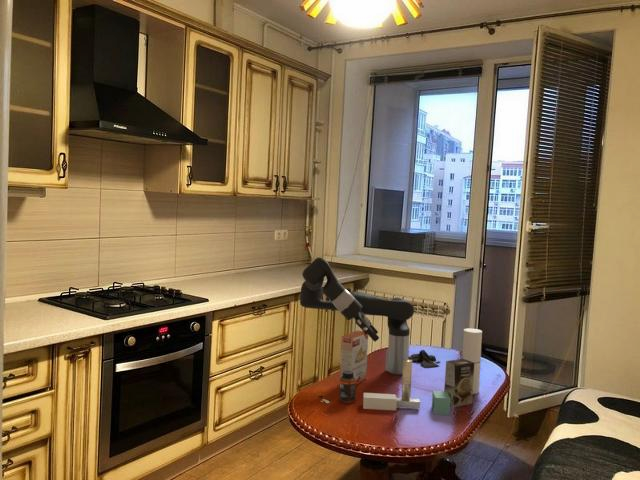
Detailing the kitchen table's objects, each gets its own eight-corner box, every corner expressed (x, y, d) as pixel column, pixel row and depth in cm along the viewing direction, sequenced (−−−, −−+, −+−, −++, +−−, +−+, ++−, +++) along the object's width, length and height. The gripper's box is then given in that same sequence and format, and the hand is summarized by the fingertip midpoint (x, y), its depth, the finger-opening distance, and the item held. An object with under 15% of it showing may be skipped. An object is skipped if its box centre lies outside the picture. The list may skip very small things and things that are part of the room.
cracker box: (351, 389, 208) (353, 338, 207) (338, 386, 212) (340, 335, 210) (367, 379, 220) (369, 331, 219) (354, 376, 224) (356, 329, 222)
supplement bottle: (357, 399, 198) (358, 370, 197) (352, 405, 192) (353, 375, 191) (342, 397, 200) (343, 368, 199) (337, 402, 194) (338, 373, 193)
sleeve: (363, 408, 189) (363, 397, 189) (363, 403, 194) (363, 392, 193) (396, 410, 188) (396, 399, 188) (395, 405, 193) (395, 394, 193)
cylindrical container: (479, 394, 207) (483, 333, 205) (461, 392, 208) (464, 331, 207) (477, 388, 214) (481, 329, 212) (460, 386, 215) (463, 327, 214)
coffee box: (454, 407, 193) (456, 365, 191) (443, 401, 198) (445, 360, 197) (472, 404, 197) (475, 362, 196) (461, 398, 202) (463, 357, 201)
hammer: (366, 405, 190) (367, 359, 188) (365, 402, 193) (367, 357, 192) (419, 408, 188) (422, 362, 187) (418, 405, 191) (420, 360, 190)
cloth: (434, 371, 236) (435, 358, 236) (397, 363, 246) (398, 351, 246) (450, 360, 255) (451, 347, 254) (415, 353, 265) (415, 341, 264)
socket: (434, 413, 186) (435, 397, 186) (431, 406, 193) (432, 390, 193) (449, 414, 186) (450, 398, 185) (445, 407, 193) (446, 391, 192)
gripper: (339, 307, 196) (368, 338, 196) (338, 315, 182) (369, 348, 182) (354, 294, 196) (383, 325, 196) (354, 301, 181) (385, 335, 182)
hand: (376, 336), depth 189 cm, fingers open, 8 cm apart
